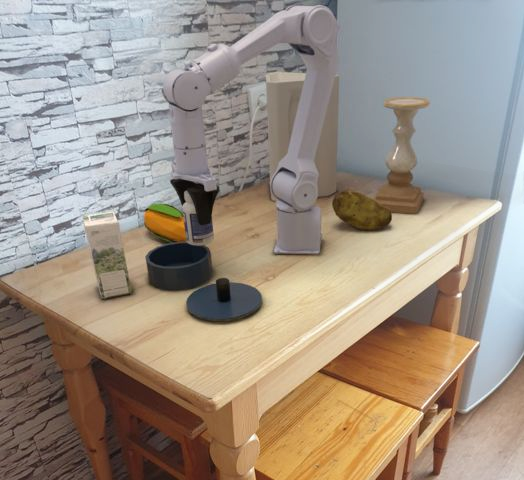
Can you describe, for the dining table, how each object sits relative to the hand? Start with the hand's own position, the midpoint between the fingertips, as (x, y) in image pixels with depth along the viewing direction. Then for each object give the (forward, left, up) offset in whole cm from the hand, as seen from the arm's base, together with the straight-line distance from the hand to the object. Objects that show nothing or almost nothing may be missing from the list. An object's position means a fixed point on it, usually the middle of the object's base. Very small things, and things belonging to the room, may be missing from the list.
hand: (197, 219), depth 107 cm
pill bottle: (0, 0, -5) cm, 5 cm away
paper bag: (-13, -48, -11) cm, 51 cm away
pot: (+4, +3, -10) cm, 12 cm away
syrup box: (+15, +10, -11) cm, 21 cm away
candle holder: (-40, -39, -11) cm, 57 cm away
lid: (-7, +14, -10) cm, 19 cm away
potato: (-31, -24, -11) cm, 41 cm away
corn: (+10, -15, -11) cm, 21 cm away
